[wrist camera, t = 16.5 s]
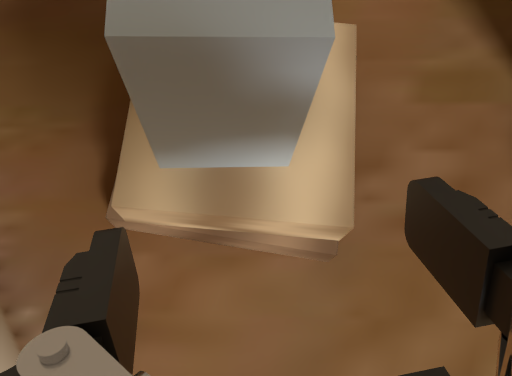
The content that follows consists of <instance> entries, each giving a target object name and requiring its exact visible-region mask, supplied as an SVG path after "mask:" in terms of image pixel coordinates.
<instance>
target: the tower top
mask: <svg viewBox="0 0 512 376" xmlns="http://www.w3.org/2000/svg"><path fill="white" fill-rule="evenodd" d="M334 30H335V39H334V42H333V45H332V48H331V50H330V53H329V56H328V59H327V62H326V64H325V67H324V70H323V73H322V75H321V78H320V81H319V84H318V86H317V89H316V92H315V95H314V97H313V100H312V103H311V106H310V109H309V111H308V114H307V117H306V120H305V122H304V125H303V128H302V131H301V133H300V136H299V139H298V142H297V144H296V147H295V150H294V153H293V155H292V158H291V161H290V164H289V166H280V167H211V168H160V167H159V165H158V163H157V160H156V158H155V156H154V153H153V151H152V148H151V146H150V144H149V141H148V139H147V137H146V134H145V132H144V129H143V127H142V125H141V122H140V120H139V118H138V115H137V113H136V110H135V108H134V106H133V103H132V101H131V100H130V106H129V111H128V117H127V122H126V127H125V133H124V138H123V144H122V149H121V155H120V160H119V166H118V171H117V177H116V182H115V188H114V193H113V199H112V204H111V206H112V208H113V209H114V210H115V211H116V212H117V213H118V214H119V215H120V216H121V217H122V218H123V219H124V221H125V222H133V223H145V224H156V225H167V226H179V227H190V228H201V229H213V230H224V231H235V232H247V233H258V234H269V235H281V236H292V237H303V238H315V239H326V240H338V241H339V240H340V239H342V238H343V237H344V236H345V235H346V234H347V233H348V232H350V231H351V230H352V229H353V228H354V179H355V101H356V25H353V24H343V23H334Z"/></svg>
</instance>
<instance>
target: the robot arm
mask: <svg viewBox="0 0 512 376" xmlns="http://www.w3.org/2000/svg"><path fill="white" fill-rule="evenodd" d="M405 236H406V240H407V242H408V245H409V247H410V248H411V249H412V251H413V252H414V253H415V254H416V256H417V257H418V258H419V259H420V260H421V262H422V263H423V264H424V265H425V267H426V268H427V269H428V270H429V271H430V273H431V274H432V275H433V276H434V278H435V279H436V280H437V281H438V283H439V284H440V285H441V286H442V287H443V289H444V290H445V291H446V292H447V294H448V295H449V296H450V297H451V298H452V300H453V301H454V302H455V303H456V305H457V306H458V307H459V308H460V309H461V311H462V312H463V313H464V314H465V316H466V317H467V318H468V319H469V321H470V322H471V323H472V324H473V325H474V327H480V326H486V325H491V324H495V325H496V326H497V327H498V328H499V330H500V331H501V332H500V336H499V343H498V354H497V366H496V376H512V226H511V225H509V224H508V223H507V222H506V221H504V220H503V219H502V218H501V217H500V218H498V215H497V214H496V213H494V212H493V211H492V210H491V209H489V210H488V207H487V206H486V205H484V204H483V203H482V202H481V201H479V200H478V199H477V198H476V197H473V196H471V195H468V194H466V193H464V192H461V191H459V190H457V191H455V190H454V189H453V188H452V187H451V186H449V185H448V184H447V183H446V182H445V181H443V180H442V179H441V178H439V177H431V178H424V179H418V180H412V181H410V183H409V185H408V189H407V202H406V215H405ZM138 307H139V281H138V275H137V271H136V267H135V263H134V260H133V256H132V252H131V248H130V244H129V240H128V236H127V233H126V230H125V228H124V227H120V228H113V229H107V230H101V231H95V232H94V235H93V239H92V243H91V246H90V250H89V251H87V252H81V253H76V254H75V256H74V257H73V258H72V259H71V260H70V261H69V262H68V263H67V264H66V265H65V266H64V269H63V272H62V275H61V278H60V283H59V284H58V287H57V290H56V295H55V296H54V299H53V302H52V305H51V308H50V311H49V314H48V317H47V320H46V323H45V326H44V329H43V332H42V334H40V335H38V336H37V337H35V338H34V339H32V340H31V341H30V342H29V343H28V344H27V345H26V346H25V347H24V348H23V349H22V351H21V352H20V354H19V356H18V359H17V364H16V365H15V366H13V367H12V368H10V369H8V370H6V371H4V372H2V373H0V376H133V375H132V374H133V363H134V352H135V340H136V329H137V318H138ZM134 376H150V375H149V374H147V373H146V372H144V371H139V372H138V373H137V374H135V375H134ZM400 376H450V375H449V373H448V372H447V370H446V369H445V367H444V366H443V367H439V368H434V369H429V370H424V371H419V372H414V373H409V374H404V375H400Z"/></svg>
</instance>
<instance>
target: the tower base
mask: <svg viewBox="0 0 512 376" xmlns="http://www.w3.org/2000/svg"><path fill="white" fill-rule="evenodd" d="M356 57H357V56H356ZM116 177H117V176H116ZM115 182H116V180H115ZM114 188H115V183H114V187H113V191H112V195H111V199H110V203H109V206H108V210H107V214H106V219H107V220H108V221H109V222H110V223H111V224H113V225H114V226H115V227H116V228H120V227H124V228H125V229H127V230H133V231H139V232H146V233H152V234H158V235H164V236H170V237H176V238H183V239H189V240H195V241H201V242H207V243H214V244H220V245H226V246H232V247H238V248H244V249H251V250H257V251H263V252H269V253H275V254H282V255H288V256H294V257H300V258H306V259H313V260H319V261H325V262H329V261H330V260H331V259H333V258H334V257H335V256H337V251H338V240H326V239H315V238H303V237H292V236H281V235H269V234H258V233H247V232H235V231H224V230H213V229H201V228H190V227H179V226H167V225H156V224H145V223H133V222H125V221H124V219H123V218H122V217H121V216H120V215H119V214H118V213H117V212H116V211H115V210H114V209H113V208H112V206H111V204H112V199H113V193H114Z"/></svg>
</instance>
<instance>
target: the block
mask: <svg viewBox="0 0 512 376" xmlns="http://www.w3.org/2000/svg"><path fill="white" fill-rule="evenodd" d="M104 37H105V39H106V42H107V44H108V46H109V49H110V51H111V54H112V56H113V58H114V61H115V63H116V65H117V68H118V70H119V73H120V75H121V77H122V80H123V82H124V84H125V87H126V89H127V91H128V94H129V96H130V99H131V101H132V103H133V106H134V108H135V110H136V113H137V115H138V118H139V120H140V122H141V125H142V127H143V129H144V132H145V134H146V137H147V139H148V141H149V144H150V146H151V148H152V151H153V153H154V156H155V158H156V160H157V163H158V165H159V167H160V168H211V167H280V166H289V164H290V161H291V158H292V155H293V153H294V150H295V147H296V144H297V142H298V139H299V136H300V133H301V131H302V128H303V125H304V122H305V120H306V117H307V114H308V111H309V109H310V106H311V103H312V100H313V97H314V95H315V92H316V89H317V86H318V84H319V81H320V78H321V75H322V73H323V70H324V67H325V64H326V62H327V59H328V56H329V53H330V50H331V48H332V45H333V42H334V39H335V30H334V20H333V10H332V0H107V5H106V19H105V32H104Z"/></svg>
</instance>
